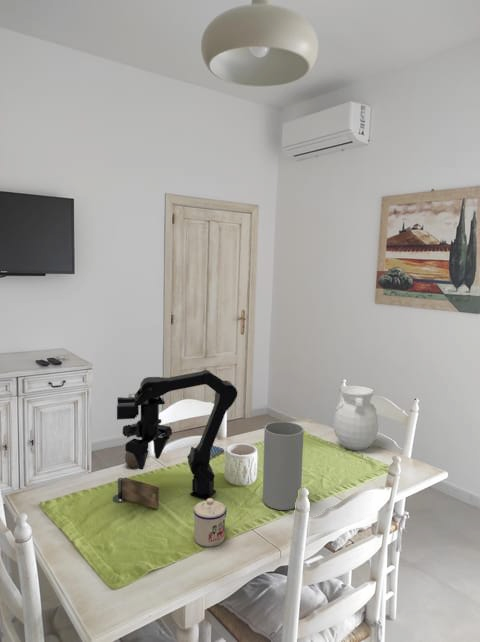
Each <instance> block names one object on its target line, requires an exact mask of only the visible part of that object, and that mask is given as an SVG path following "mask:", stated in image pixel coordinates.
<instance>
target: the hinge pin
mask: <svg viewBox="0 0 480 642" xmlns="http://www.w3.org/2000/svg"><path fill="white" fill-rule="evenodd" d="M123 478H124V477H119V478H117V494H114V496H113V497H112V502H114V503H117V504H118V503H125V502H127V501H128V500H127V499H123V498H122V479H123Z"/></svg>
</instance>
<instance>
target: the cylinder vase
mask: <svg viewBox="0 0 480 642" xmlns="http://www.w3.org/2000/svg"><path fill="white" fill-rule="evenodd" d="M304 430H305V429H304V428H303V426H302V425H300V424H298V423H295V422H294V423H293V422H291V421H290V422H289V421H274V422H269V423H267V424H265V425H264V432H263V433H264V434H263V435H264V437H263V438H264V439H263V466H262V467H263V468H262V469H263V471H262V472H263V474H262V501H263V503H264V504H265V505H266V506H268V508H271V509H274V510H278V511H290V510H293V509H295V502H296V499H297V497H298V490H299V489H300V488H301V489H302V478H303V477H302V475H303V451H304V450H303V449H304Z"/></svg>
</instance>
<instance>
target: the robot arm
mask: <svg viewBox="0 0 480 642" xmlns="http://www.w3.org/2000/svg"><path fill="white" fill-rule="evenodd" d="M204 385H206V386H208V387H209V388H211V389H212V390H214V392H215V394H214V402H213V407H212V410H211V412H210V415H209V418H208V420H207V422H206V424H205V427H204V430H203V433H202V435H201V437H200V441H199V443H198V444H197V445H196V446H195V447H193V446H191V447H190V451H189V453H188V455H187V464H188V467H189V469H190V471H191V474H192V475H193V476H192V477H193V479H192V485H191V488H192V489H191V490H192V492H191V493H190V496H192V497H194V498H195V497H196V498H200V499H203V500H207V499H209V498H211V497H212V496H213V495H214V494H215V493H216V492H217V489H215V477H216V475H215V473H214V471H213V468H212V467H211V464H210V462H211V460H210V452H211V448H212V446H213V445H214V443H215V440H216V438H217V436H218V433H219V431H220V428H221V425H222V423H223V420H224V417H225V415H226V413H227V411H228V410H229V409H230V408H231V407H232V406H233V404H234V403H235V401H236V399H237V397H238V389H237V388H236V387H235V385H233V384H232V382H231V381H230V380H229V381H228V380H223V379H221V378H220V377H218V376H217V375H215V374H213V373H212V372H211V371H210V370H207V369H204V370H201V371H198V372H197V371H196V372H192V373H191V372H190V373H186V374H181V375H176V376H175V375H174V376H170V377H161V376H147V377H144V378H143V379H142V381H141V382H140V386H139V389H138V390H137V391H136V393H135V394H134V397H117V398H116V399H117V405H116V420H133V419H136V418H137V417H138V416H139V415H140V419H139V420H138V421H136V422H135V423H132V424H126V425H123V426H122V435H123V436H124V437H126V438H131V437H133V436H135V437H136V438H133V439H131V440H129V441H126V443H125V444H124V447H125V452H126V451H128V452H129V453H132V454H134V456H135V458H136V460H137V463H138V466H139V467H138V468H139V470H141V471H143V470H144V468H145V465H146V461H147V458H148V455H149V450H148V449H149V443H151V442H153V445H154V456H155V459H157V460H159V459H160V457H161V455H162V454H163V453H162V452H163V451H164V449H165V447H166V444H167V443H168V441H169V440H170V438H171V436H172V435H173V429H172V428H171V427H170V426H168V425H163V424H161V423H162V419H160V417H159V416H160V414H159V413H160V412H159V411H160V409H159V408H160V405H165V404H166V402H165V401H166V400H165V399H164V398H162V396H164V395H166V394H167V393H169V392H173V391H178V390H184V389H188V388H189V389H190V388H193V387H198V386H204ZM139 407H140V409H139ZM139 410H140V411H139ZM139 412H140V413H139ZM137 438H140V439H137Z"/></svg>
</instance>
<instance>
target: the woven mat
mask: <svg viewBox="0 0 480 642" xmlns="http://www.w3.org/2000/svg"><path fill="white" fill-rule="evenodd" d="M224 453H225V449H224V447H220V446H217V445H216V446H215V445H214V444H213V446H212V448H211V452H210V461H211V460H213V459H215V458H216V457H218V456H219V455H222V454H224Z"/></svg>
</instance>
